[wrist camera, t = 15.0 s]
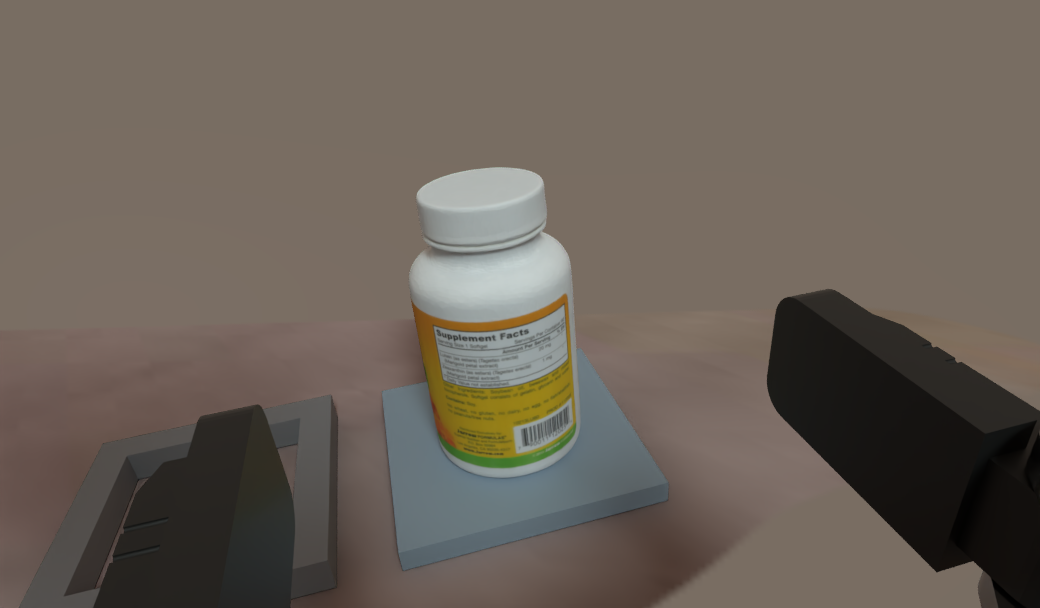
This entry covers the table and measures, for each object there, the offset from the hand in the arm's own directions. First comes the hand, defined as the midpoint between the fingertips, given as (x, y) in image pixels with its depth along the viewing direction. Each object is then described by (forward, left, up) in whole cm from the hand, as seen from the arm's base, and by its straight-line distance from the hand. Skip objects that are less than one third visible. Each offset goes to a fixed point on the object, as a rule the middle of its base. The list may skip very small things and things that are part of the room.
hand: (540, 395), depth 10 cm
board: (+1, +11, -11) cm, 16 cm away
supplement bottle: (+1, +11, -10) cm, 15 cm away
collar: (-10, +11, -11) cm, 18 cm away
